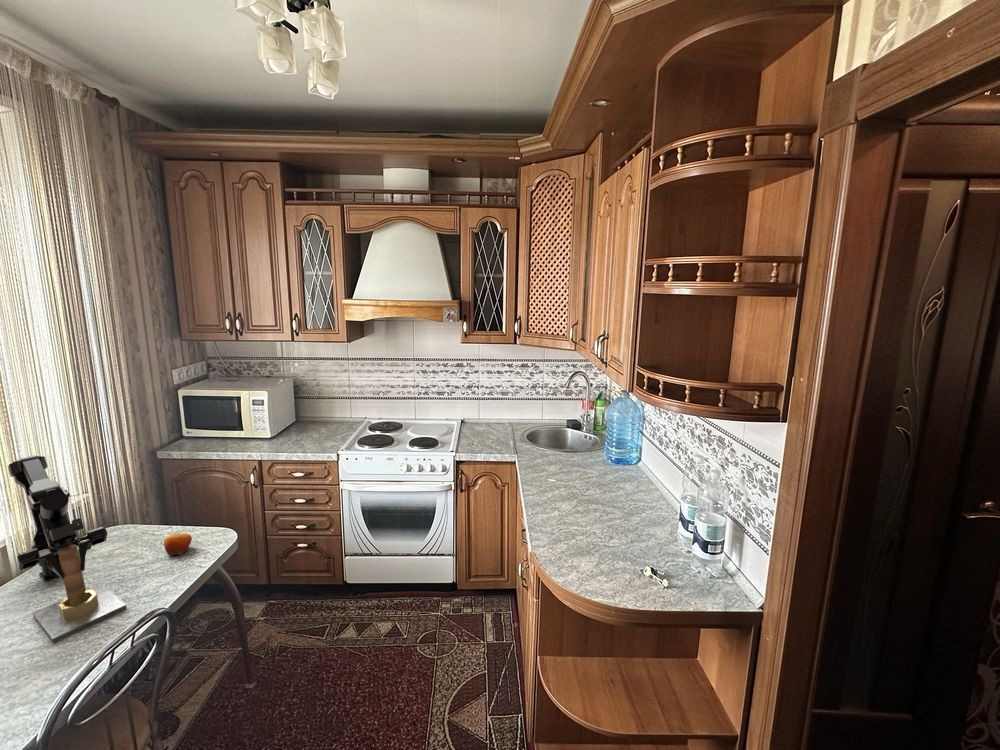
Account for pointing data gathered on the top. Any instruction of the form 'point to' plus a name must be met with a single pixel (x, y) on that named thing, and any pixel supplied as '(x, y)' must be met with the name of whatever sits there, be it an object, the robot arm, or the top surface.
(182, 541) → the fruit
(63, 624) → the cup bracket
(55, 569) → the robot arm
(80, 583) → the rail post
